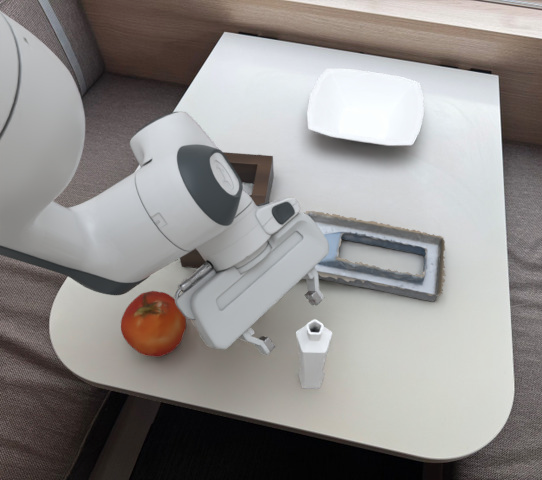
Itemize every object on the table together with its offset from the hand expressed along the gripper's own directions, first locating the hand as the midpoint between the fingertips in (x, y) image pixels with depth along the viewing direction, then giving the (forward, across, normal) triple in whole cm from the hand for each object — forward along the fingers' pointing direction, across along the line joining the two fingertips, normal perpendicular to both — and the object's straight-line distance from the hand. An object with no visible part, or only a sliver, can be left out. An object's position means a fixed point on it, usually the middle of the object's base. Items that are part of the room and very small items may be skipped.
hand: (294, 325), depth 67 cm
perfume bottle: (+10, 0, +6) cm, 12 cm away
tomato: (-4, -10, +21) cm, 24 cm away
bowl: (-9, +49, +26) cm, 56 cm away
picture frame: (+6, +22, +10) cm, 25 cm away
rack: (-11, +13, +27) cm, 32 cm away
